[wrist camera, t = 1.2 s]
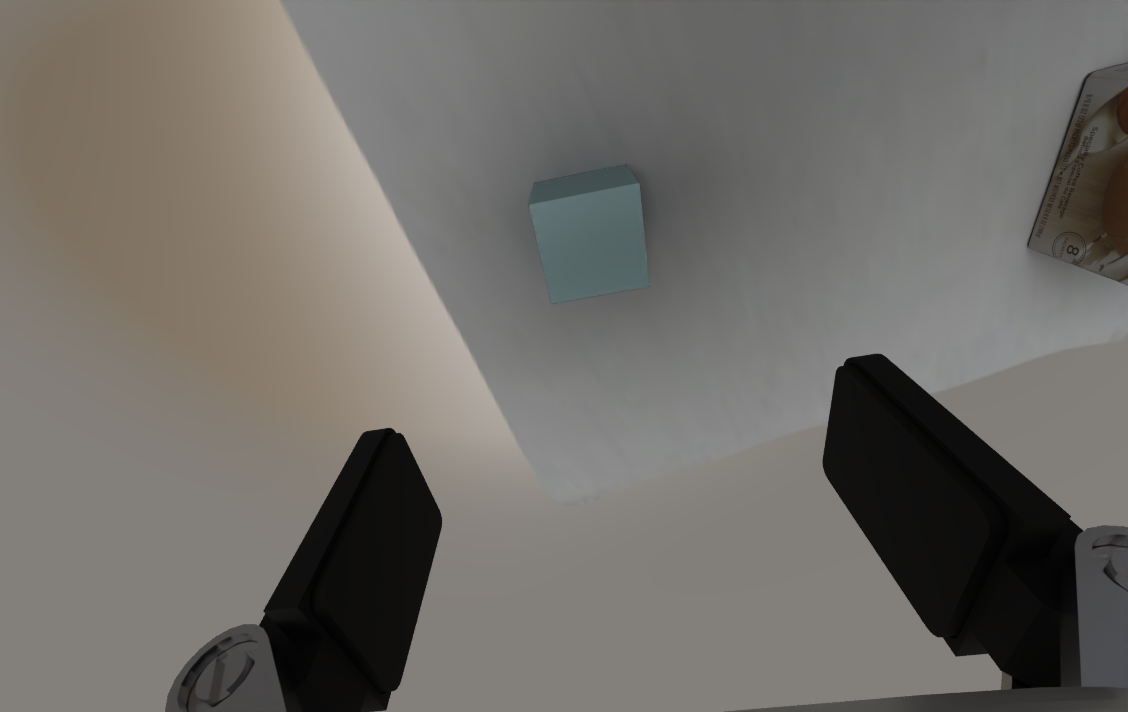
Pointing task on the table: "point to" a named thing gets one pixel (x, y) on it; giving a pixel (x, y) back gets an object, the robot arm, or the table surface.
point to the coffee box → (1091, 183)
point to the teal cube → (590, 233)
